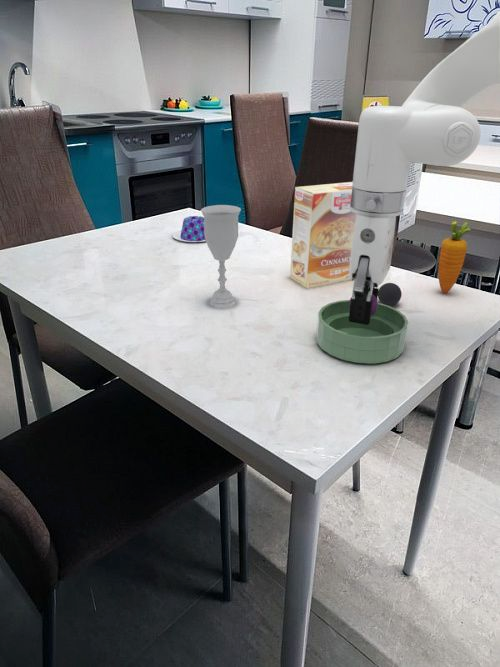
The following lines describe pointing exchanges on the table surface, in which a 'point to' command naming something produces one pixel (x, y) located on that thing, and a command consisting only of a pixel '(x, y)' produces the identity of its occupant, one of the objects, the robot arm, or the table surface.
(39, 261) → the table surface
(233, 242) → the chalice
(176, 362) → the table surface
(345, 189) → the coffeecake box
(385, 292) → the charcoal ball
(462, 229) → the carrot
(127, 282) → the table surface
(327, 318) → the bowl
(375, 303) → the plum ball
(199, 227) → the pudding
